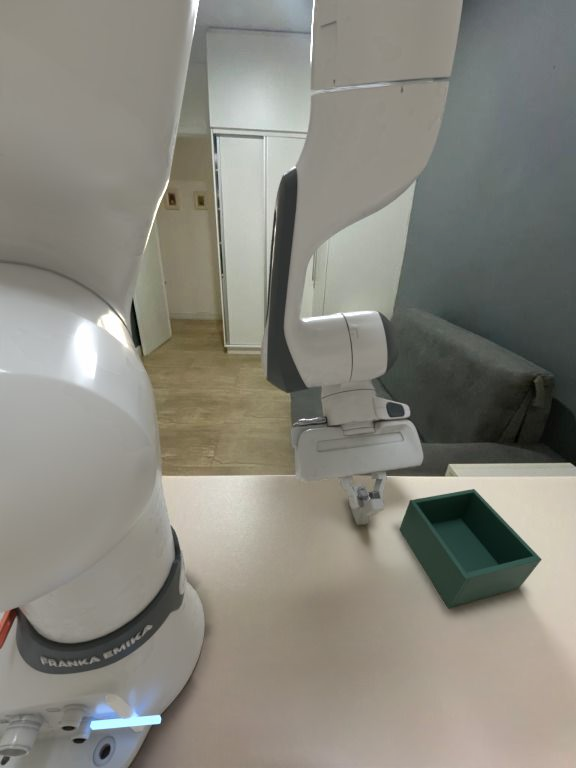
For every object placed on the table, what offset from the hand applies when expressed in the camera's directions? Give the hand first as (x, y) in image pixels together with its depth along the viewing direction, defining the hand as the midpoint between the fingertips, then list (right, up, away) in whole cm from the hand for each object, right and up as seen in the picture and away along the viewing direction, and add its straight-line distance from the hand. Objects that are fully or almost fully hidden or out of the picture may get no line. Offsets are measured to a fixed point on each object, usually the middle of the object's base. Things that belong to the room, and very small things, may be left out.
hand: (367, 505), depth 46 cm
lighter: (0, -4, +3) cm, 5 cm away
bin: (+12, -7, -1) cm, 14 cm away
